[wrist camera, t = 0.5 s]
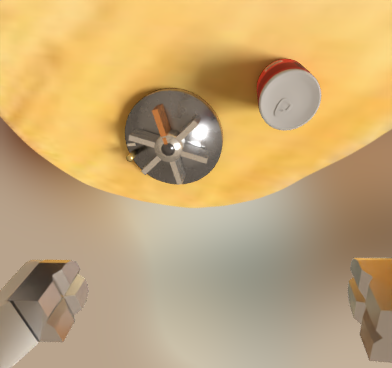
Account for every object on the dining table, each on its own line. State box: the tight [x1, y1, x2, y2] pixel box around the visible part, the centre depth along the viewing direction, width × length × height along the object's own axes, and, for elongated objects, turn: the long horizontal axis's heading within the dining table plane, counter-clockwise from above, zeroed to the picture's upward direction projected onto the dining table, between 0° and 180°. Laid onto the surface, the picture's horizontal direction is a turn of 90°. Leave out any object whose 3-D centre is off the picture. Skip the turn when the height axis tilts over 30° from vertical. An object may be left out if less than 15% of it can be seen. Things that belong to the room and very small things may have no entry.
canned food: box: [257, 59, 321, 130], centre depth 42 cm, size 8×8×11 cm
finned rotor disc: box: [129, 104, 210, 185], centre depth 50 cm, size 14×13×4 cm
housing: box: [125, 88, 223, 184], centre depth 52 cm, size 18×18×4 cm
